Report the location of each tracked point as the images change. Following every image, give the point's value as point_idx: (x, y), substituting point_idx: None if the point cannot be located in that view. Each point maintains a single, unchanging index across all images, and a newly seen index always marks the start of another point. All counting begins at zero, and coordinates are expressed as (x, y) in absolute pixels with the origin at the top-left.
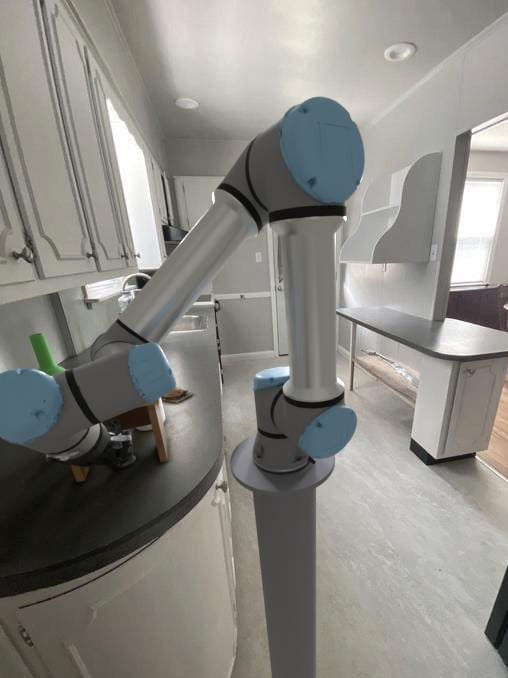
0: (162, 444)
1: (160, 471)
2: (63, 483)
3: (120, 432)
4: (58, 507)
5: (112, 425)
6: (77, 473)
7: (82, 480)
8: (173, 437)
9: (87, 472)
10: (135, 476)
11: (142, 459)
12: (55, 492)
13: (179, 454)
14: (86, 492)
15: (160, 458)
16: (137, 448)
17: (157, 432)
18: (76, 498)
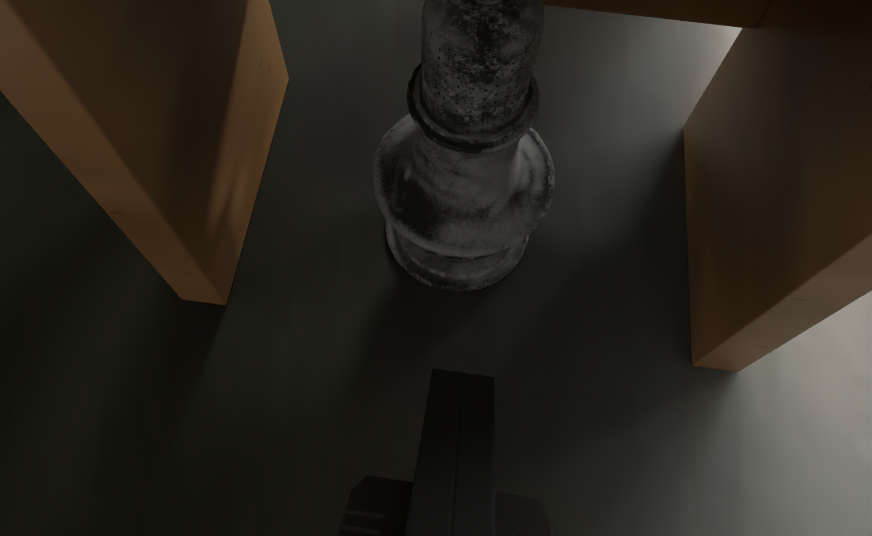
0: (806, 321)
1: (693, 472)
2: (111, 264)
3: (520, 96)
4: (58, 511)
5: (485, 33)
6: (179, 276)
7: (211, 301)
8: None
9: (245, 232)
10: (526, 435)
11: (570, 262)
12: (61, 333)
13: (816, 335)
14: (225, 441)
15: (710, 357)
16: (538, 127)
17: (869, 267)
18: (164, 473)
